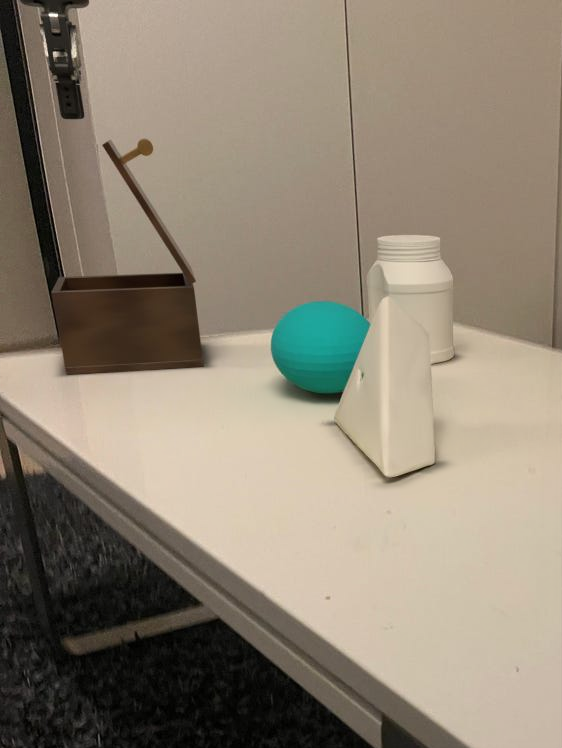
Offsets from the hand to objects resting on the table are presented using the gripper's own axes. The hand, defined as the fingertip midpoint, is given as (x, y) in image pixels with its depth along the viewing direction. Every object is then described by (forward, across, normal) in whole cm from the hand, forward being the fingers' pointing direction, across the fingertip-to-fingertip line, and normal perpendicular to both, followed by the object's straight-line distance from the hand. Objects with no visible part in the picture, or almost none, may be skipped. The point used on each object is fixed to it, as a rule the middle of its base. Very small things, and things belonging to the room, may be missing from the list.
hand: (73, 119), depth 118 cm
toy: (+29, +24, +25) cm, 45 cm away
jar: (+28, +8, +39) cm, 49 cm away
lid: (+10, 0, +7) cm, 13 cm away
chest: (+28, 0, +3) cm, 29 cm away
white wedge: (+29, +49, +28) cm, 63 cm away
